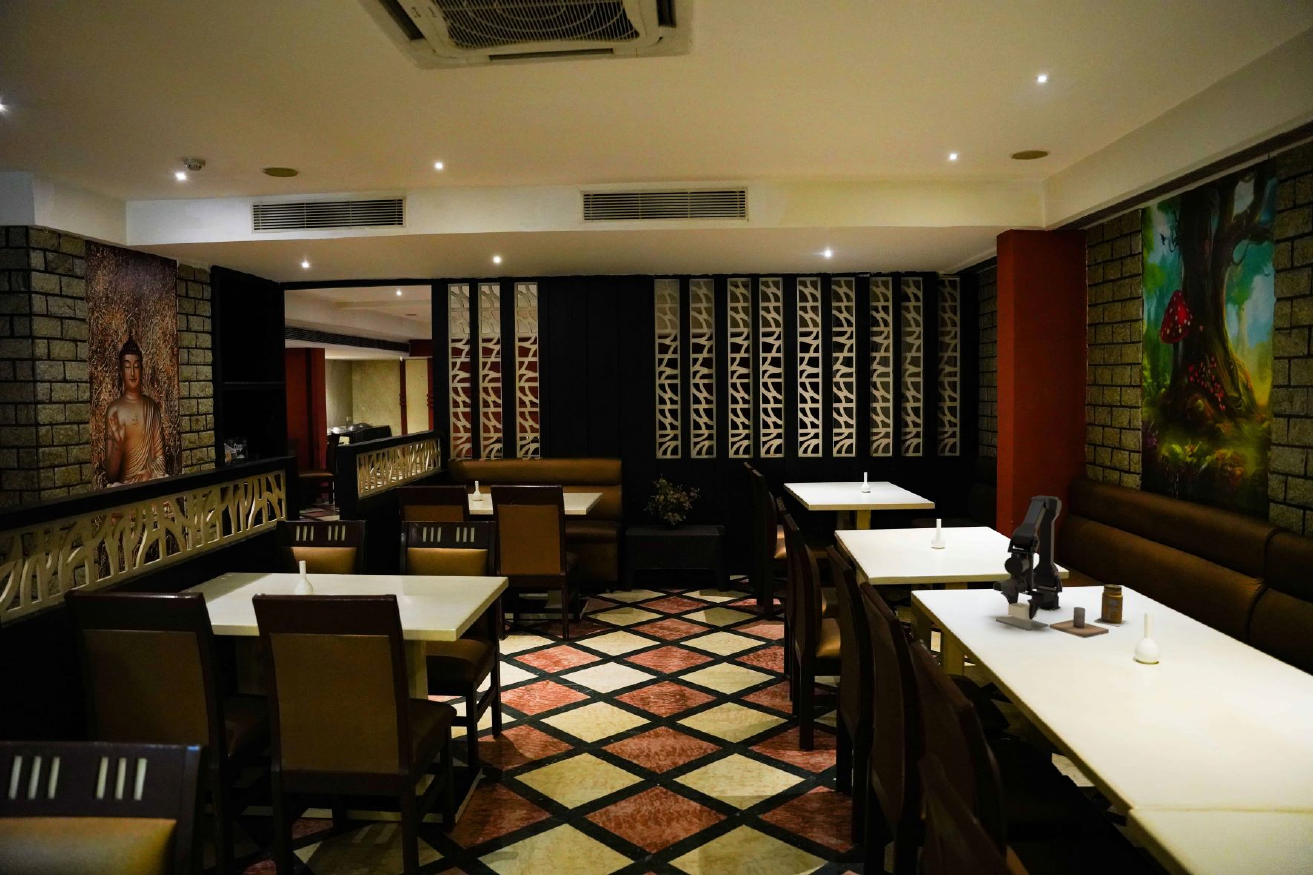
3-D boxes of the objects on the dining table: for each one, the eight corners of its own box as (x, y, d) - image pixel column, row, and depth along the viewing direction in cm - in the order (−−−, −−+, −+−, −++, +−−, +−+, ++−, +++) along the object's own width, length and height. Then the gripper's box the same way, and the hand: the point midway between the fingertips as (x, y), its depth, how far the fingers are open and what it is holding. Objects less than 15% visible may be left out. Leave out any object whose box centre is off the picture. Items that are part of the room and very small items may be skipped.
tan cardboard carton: (1020, 612, 261) (1020, 602, 261) (1036, 617, 256) (1036, 606, 256) (1008, 614, 258) (1008, 604, 258) (1024, 619, 253) (1024, 608, 253)
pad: (996, 620, 260) (996, 619, 260) (1016, 616, 265) (1016, 615, 265) (1028, 630, 250) (1028, 628, 250) (1048, 626, 254) (1048, 624, 254)
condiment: (1126, 621, 260) (1127, 585, 259) (1118, 626, 254) (1119, 590, 254) (1102, 617, 265) (1103, 581, 265) (1093, 622, 260) (1095, 586, 259)
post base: (1049, 627, 253) (1050, 606, 253) (1072, 622, 259) (1073, 601, 258) (1084, 637, 242) (1085, 615, 242) (1108, 632, 248) (1109, 610, 248)
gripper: (982, 566, 261) (981, 613, 262) (1033, 578, 244) (1031, 627, 245) (1005, 563, 266) (1004, 608, 267) (1056, 574, 249) (1054, 623, 250)
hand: (1022, 616), depth 257 cm, fingers closed on tan cardboard carton, 6 cm apart
